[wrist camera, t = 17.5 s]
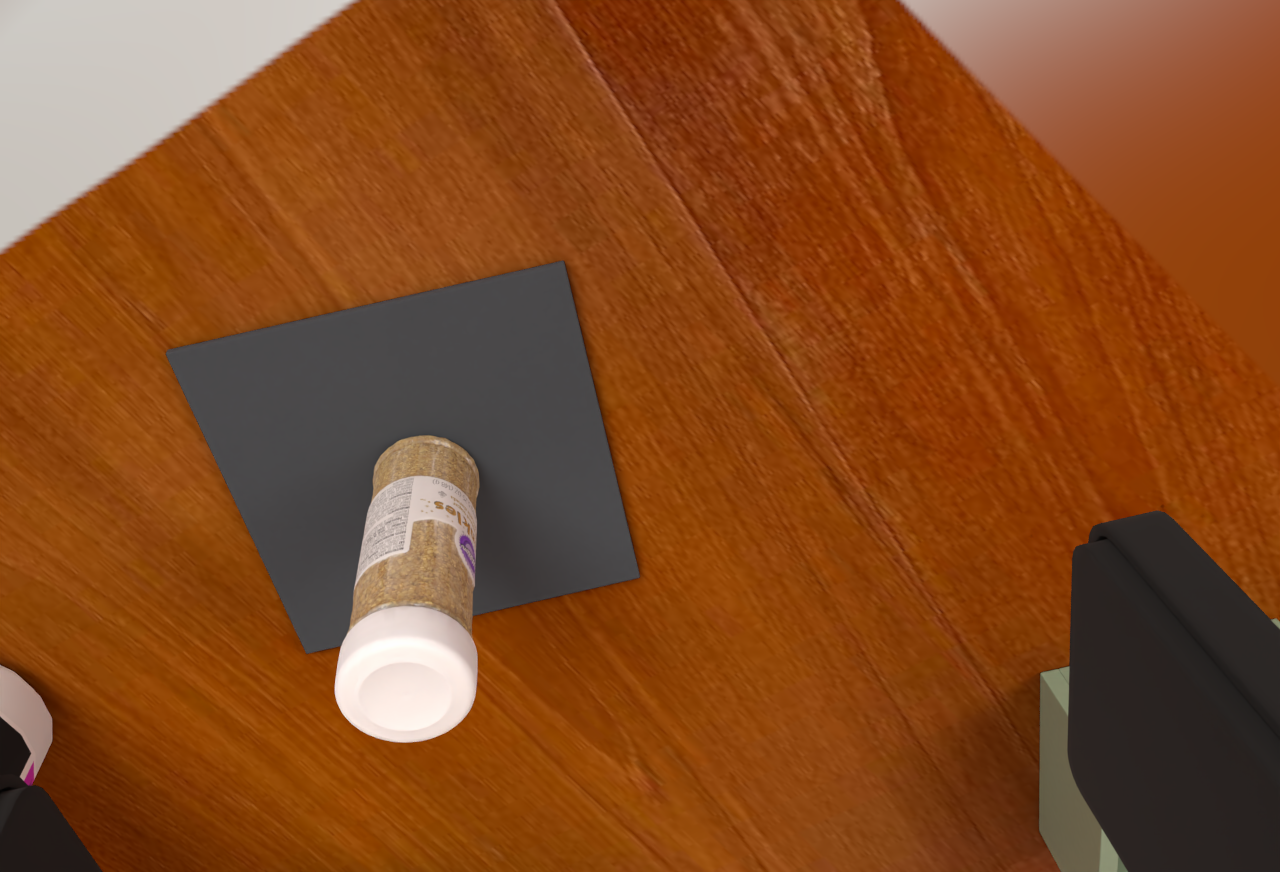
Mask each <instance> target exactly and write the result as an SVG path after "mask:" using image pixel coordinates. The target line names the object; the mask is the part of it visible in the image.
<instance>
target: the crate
mask: <svg viewBox="0 0 1280 872" xmlns="http://www.w3.org/2000/svg"><path fill="white" fill-rule="evenodd" d="M1271 621H1272V622H1273V623H1274V624H1275V625H1276V626H1277V627H1278V628H1279V629H1280V622H1279V621H1278V620H1277V619H1272V620H1271ZM1069 667H1070V666H1069ZM1069 667H1064V668H1060V669H1059V670H1058V669H1055V670H1051V671H1047V672H1042V673H1040V782H1039V832H1040V834H1041V835H1042V837H1043V839H1044V841H1045V843H1046V845H1047V847H1048V848H1049V850H1050V852H1051V854H1052V856H1053V858H1054V859H1055V861H1056V863H1057V865H1058V867H1059V869H1060V871H1061V872H1128V871H1127V869H1126V868H1125V866H1124V864H1123V863H1122V861H1121V859H1120V858H1119V856H1118V854H1117V853H1116V851H1115V850H1114V848H1113V846H1112V845H1111V843H1110V841H1109V840H1108V838H1107V836H1106V835H1105V833H1104V831H1103V830H1102V828H1101V826H1100V825H1099V823H1098V821H1097V820H1096V818H1095V816H1094V815H1093V813H1092V811H1091V810H1090V808H1089V806H1088V805H1087V803H1086V801H1085V800H1084V798H1083V796H1082V795H1081V793H1080V791H1079V789H1078V787H1077V785H1076V783H1075V780H1074V778H1073V775H1072V772H1071V769H1070V765H1069V760H1068V752H1067V742H1068V705H1069Z"/></svg>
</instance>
